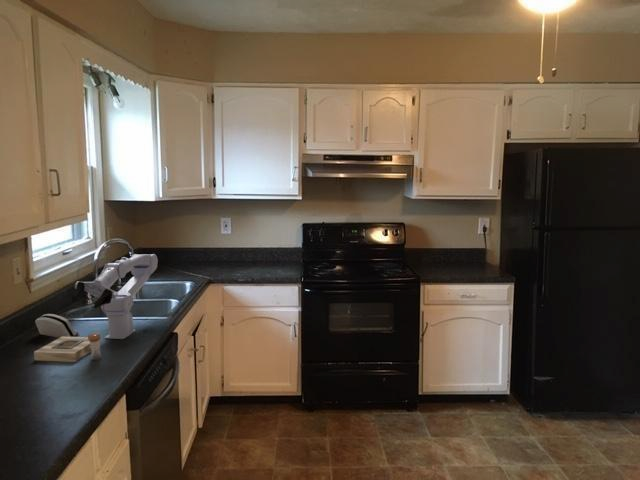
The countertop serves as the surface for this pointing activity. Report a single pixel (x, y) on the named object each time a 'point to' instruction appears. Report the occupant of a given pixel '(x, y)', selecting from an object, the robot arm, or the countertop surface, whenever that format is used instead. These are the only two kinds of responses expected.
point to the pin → (95, 346)
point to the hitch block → (64, 349)
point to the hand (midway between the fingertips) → (84, 302)
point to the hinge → (55, 326)
